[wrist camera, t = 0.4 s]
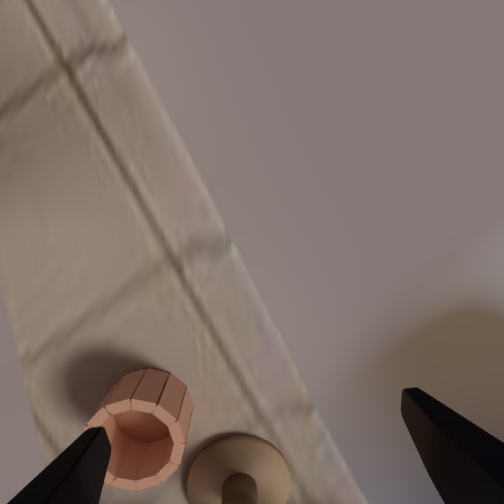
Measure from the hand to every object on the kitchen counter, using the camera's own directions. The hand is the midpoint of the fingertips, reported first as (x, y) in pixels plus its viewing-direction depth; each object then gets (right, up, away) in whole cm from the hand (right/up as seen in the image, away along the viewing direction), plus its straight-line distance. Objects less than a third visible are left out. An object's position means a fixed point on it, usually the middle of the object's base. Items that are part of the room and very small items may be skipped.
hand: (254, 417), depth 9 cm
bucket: (-9, -8, +16) cm, 20 cm away
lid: (-1, -15, +18) cm, 23 cm away
